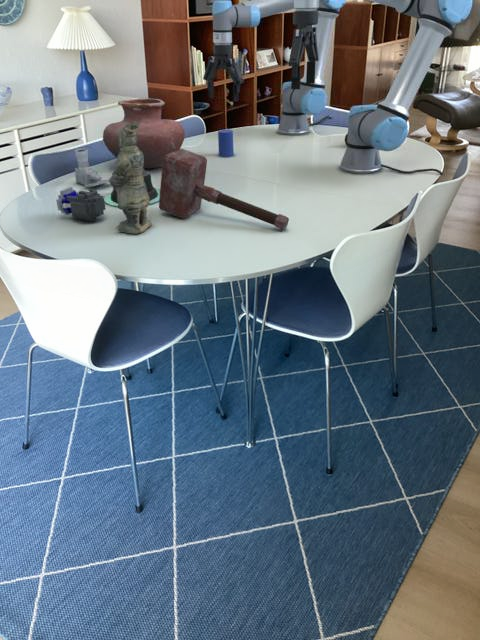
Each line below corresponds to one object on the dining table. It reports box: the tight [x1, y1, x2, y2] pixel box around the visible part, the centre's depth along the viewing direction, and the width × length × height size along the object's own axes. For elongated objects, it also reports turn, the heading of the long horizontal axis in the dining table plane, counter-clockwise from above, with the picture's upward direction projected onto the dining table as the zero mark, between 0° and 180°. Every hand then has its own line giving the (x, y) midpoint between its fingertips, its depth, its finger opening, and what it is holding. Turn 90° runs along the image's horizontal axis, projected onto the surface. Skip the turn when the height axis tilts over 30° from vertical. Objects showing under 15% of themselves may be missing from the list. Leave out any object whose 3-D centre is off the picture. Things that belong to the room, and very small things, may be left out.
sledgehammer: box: [158, 148, 290, 231], centre depth 163 cm, size 17×10×40 cm
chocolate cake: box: [103, 168, 160, 207], centre depth 186 cm, size 15×19×20 cm
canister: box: [217, 129, 235, 158], centre depth 231 cm, size 6×6×10 cm
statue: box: [108, 121, 153, 235], centre depth 154 cm, size 11×9×30 cm
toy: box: [56, 186, 107, 222], centre depth 168 cm, size 9×9×15 cm
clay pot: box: [102, 98, 186, 169], centre depth 213 cm, size 30×30×25 cm
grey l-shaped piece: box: [74, 148, 110, 188], centre depth 197 cm, size 9×12×15 cm
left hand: (223, 99), depth 235 cm, fingers open, 13 cm apart
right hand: (303, 86), depth 177 cm, fingers open, 13 cm apart
